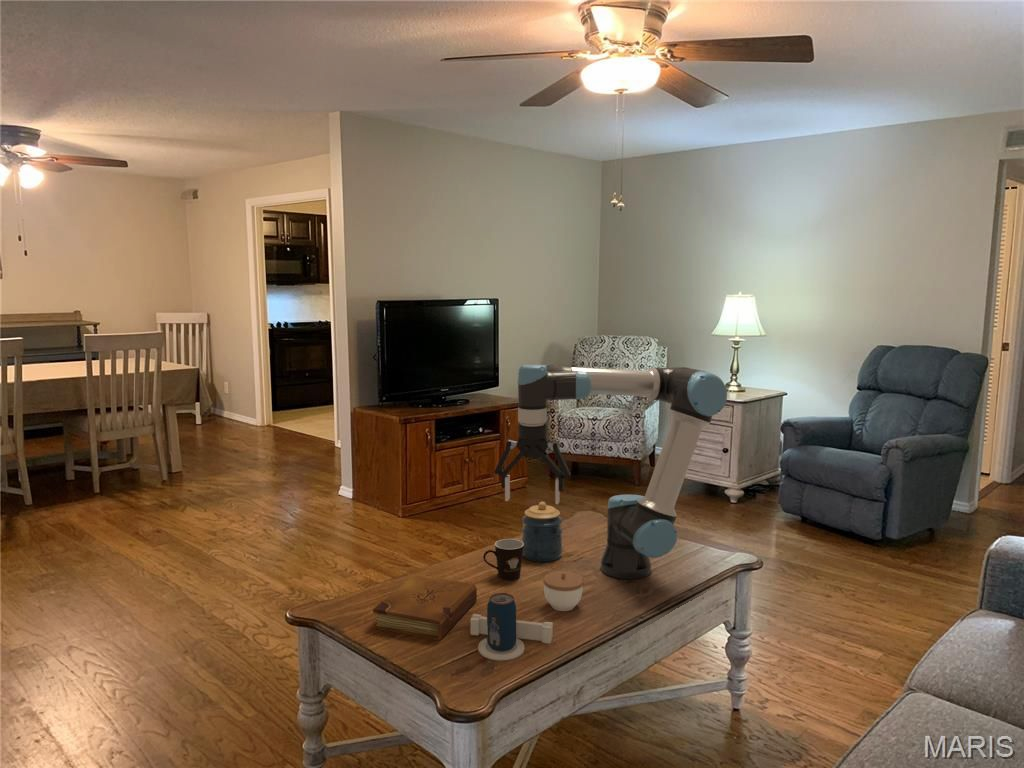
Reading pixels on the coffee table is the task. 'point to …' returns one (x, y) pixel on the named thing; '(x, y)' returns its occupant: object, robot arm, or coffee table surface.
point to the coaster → (501, 656)
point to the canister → (542, 533)
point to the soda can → (501, 622)
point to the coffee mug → (508, 558)
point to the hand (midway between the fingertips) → (532, 501)
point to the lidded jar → (563, 589)
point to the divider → (517, 629)
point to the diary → (425, 606)
